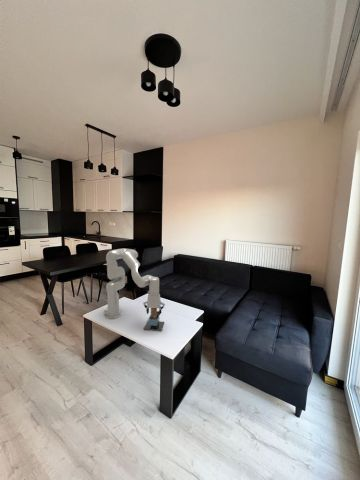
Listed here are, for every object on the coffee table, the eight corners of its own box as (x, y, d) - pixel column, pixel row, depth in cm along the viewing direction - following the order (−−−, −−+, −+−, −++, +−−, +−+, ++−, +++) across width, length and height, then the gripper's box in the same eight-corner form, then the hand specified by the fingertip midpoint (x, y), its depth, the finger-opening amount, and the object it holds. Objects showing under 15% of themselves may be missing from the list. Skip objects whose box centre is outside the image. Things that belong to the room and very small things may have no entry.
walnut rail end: (150, 322, 153) (150, 308, 151) (151, 320, 157) (152, 306, 155) (155, 323, 152) (155, 308, 151) (156, 320, 156) (156, 306, 155)
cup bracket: (143, 329, 152) (143, 315, 151) (147, 321, 164) (148, 308, 162) (161, 331, 150) (161, 316, 149) (164, 323, 162) (164, 309, 161)
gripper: (141, 294, 149) (141, 315, 151) (164, 295, 147) (163, 317, 149) (144, 290, 156) (144, 310, 158) (165, 291, 155) (165, 312, 157)
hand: (153, 313), depth 154 cm, fingers open, 9 cm apart
